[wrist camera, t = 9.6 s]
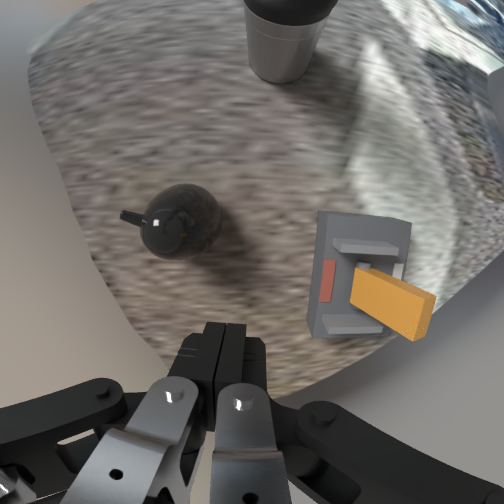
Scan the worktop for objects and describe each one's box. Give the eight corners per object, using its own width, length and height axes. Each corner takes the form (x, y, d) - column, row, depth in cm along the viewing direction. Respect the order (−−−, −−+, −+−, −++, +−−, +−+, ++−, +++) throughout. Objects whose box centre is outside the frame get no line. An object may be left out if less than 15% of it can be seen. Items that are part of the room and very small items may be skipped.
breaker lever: (352, 260, 35) (426, 293, 24) (366, 260, 36) (438, 289, 25) (345, 305, 37) (410, 347, 25) (358, 302, 38) (423, 341, 26)
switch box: (318, 210, 41) (336, 218, 31) (393, 217, 41) (426, 227, 31) (306, 319, 45) (317, 352, 35) (376, 319, 45) (399, 348, 35)
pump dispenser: (173, 173, 40) (130, 168, 25) (236, 199, 41) (223, 206, 26) (151, 234, 42) (103, 258, 27) (210, 260, 43) (186, 298, 28)
